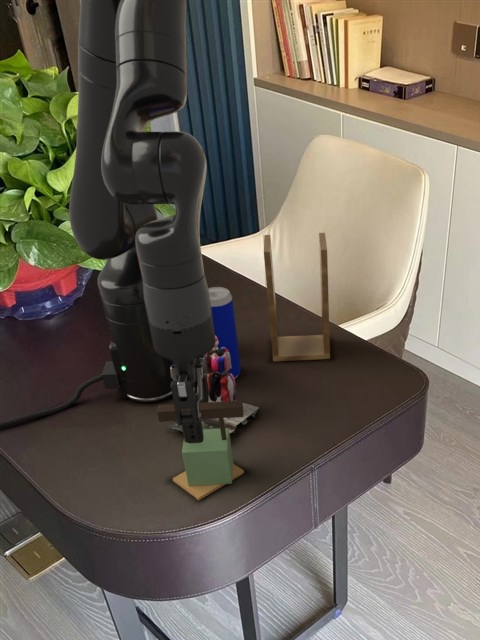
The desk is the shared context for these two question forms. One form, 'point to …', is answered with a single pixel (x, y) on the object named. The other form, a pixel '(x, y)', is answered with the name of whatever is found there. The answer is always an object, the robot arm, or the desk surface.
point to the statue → (221, 389)
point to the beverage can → (225, 325)
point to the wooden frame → (298, 345)
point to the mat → (203, 490)
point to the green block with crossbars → (208, 444)
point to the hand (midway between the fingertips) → (198, 422)
